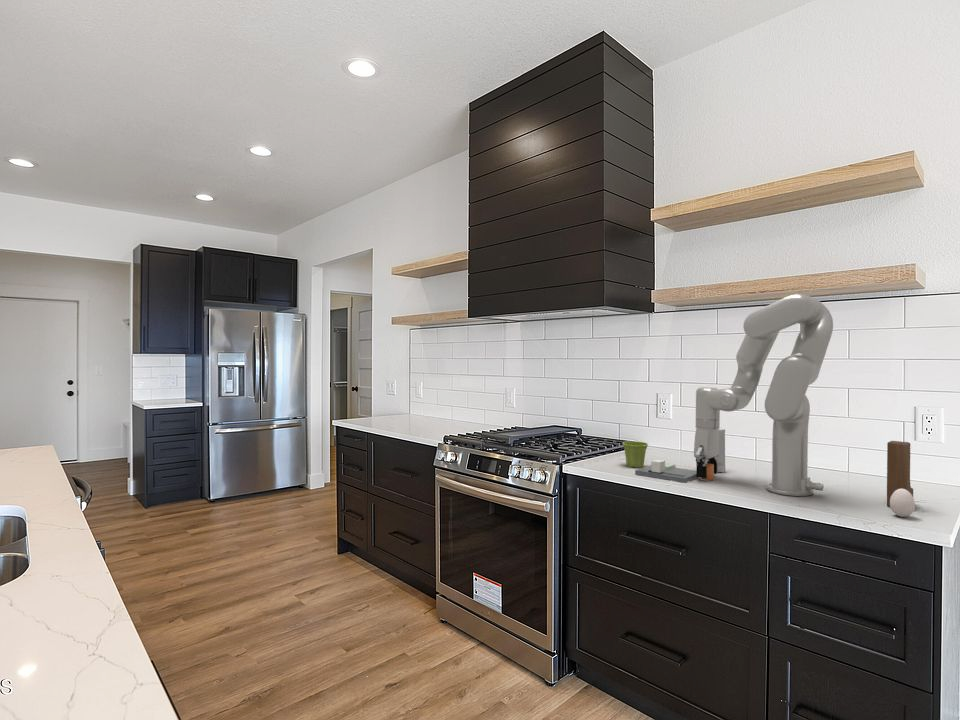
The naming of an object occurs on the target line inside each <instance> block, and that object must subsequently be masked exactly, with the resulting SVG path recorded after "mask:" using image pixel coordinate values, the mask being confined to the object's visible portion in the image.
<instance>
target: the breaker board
mask: <svg viewBox="0 0 960 720" xmlns="http://www.w3.org/2000/svg"><path fill="white" fill-rule="evenodd" d="M634 471H635V473H634V475H636V476H640V477H641V476H642V477H648V478H653V479H659V480H666V481H671V480H672V481H671V482H677V481H678V483H683V484H686V483H688V482H689V483H690V482H691V481H694V480H696V479H698V478H699V477H697V476H696V472H697V470H695V469H686V468H680V467H675V468H672V469H669V470H665V471H663V472H660V473H658V472H652V471H651V465H648V466H645V467H644V466H643V467H641V468H637V469H635V470H634Z"/></svg>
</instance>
